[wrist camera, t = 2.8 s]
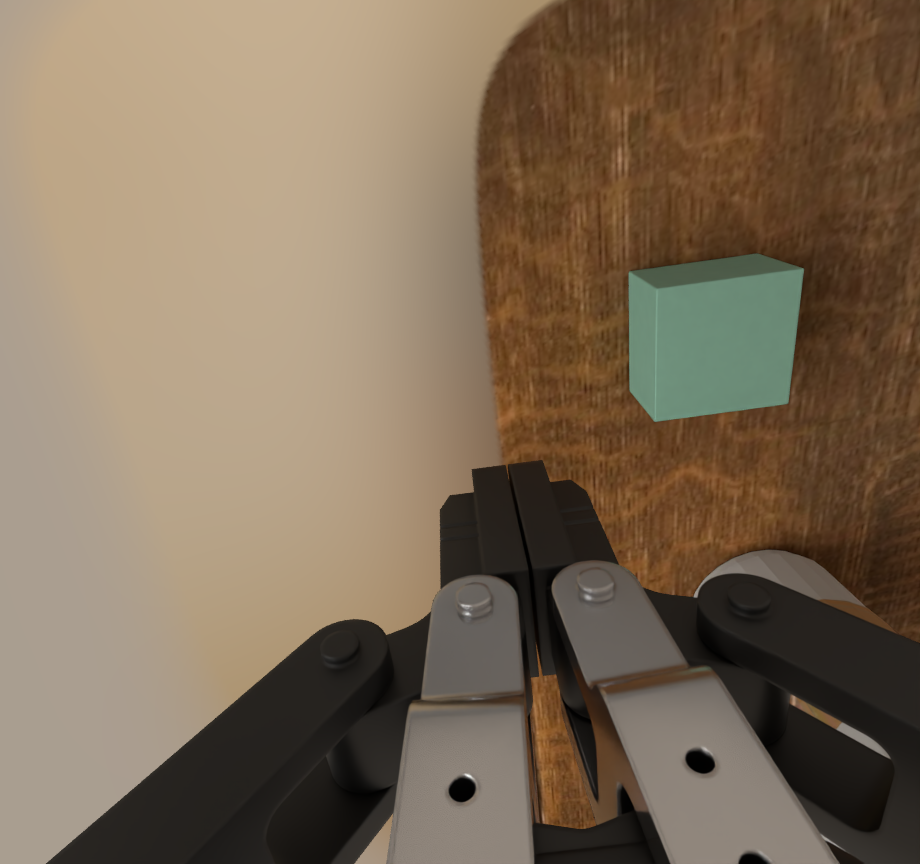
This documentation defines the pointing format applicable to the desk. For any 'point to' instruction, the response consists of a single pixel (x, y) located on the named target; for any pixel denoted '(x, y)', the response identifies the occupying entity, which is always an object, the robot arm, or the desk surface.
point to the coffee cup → (816, 585)
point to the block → (713, 335)
